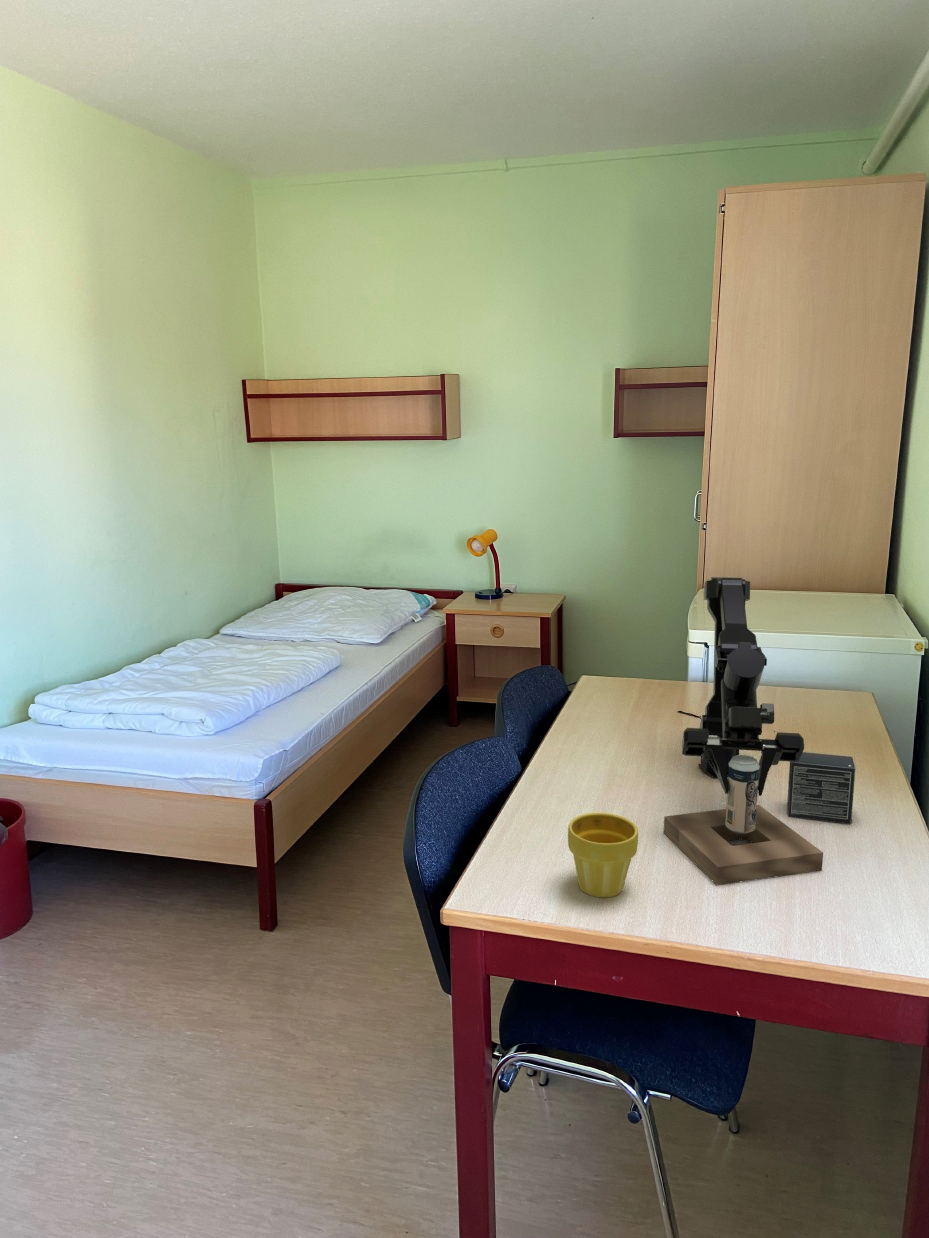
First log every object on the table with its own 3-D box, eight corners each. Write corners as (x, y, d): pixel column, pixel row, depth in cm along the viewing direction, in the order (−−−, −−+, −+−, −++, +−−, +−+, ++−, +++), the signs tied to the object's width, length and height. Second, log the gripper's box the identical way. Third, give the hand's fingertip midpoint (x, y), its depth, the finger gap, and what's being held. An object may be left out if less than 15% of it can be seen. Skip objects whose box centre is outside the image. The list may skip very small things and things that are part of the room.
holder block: (758, 820, 152) (759, 804, 151) (821, 870, 135) (823, 852, 134) (663, 832, 148) (664, 816, 147) (717, 885, 131) (718, 866, 130)
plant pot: (644, 903, 126) (646, 841, 124) (574, 906, 125) (575, 844, 123) (626, 868, 136) (627, 810, 134) (561, 871, 136) (562, 813, 133)
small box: (848, 809, 156) (853, 755, 154) (852, 825, 150) (857, 768, 148) (786, 802, 159) (790, 748, 157) (787, 817, 153) (791, 761, 151)
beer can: (754, 837, 138) (759, 766, 135) (723, 832, 139) (727, 763, 137) (756, 824, 142) (761, 755, 139) (726, 820, 144) (730, 752, 141)
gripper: (685, 681, 141) (686, 771, 133) (806, 686, 138) (815, 778, 130) (681, 711, 150) (682, 796, 142) (794, 716, 147) (801, 804, 139)
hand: (743, 793), depth 138 cm, fingers closed on beer can, 5 cm apart
